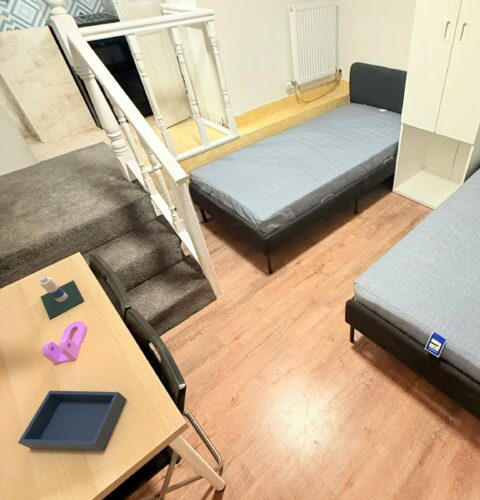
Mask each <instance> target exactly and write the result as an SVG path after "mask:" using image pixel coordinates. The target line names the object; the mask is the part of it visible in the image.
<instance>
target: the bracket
mask: <svg viewBox="0 0 480 500" xmlns="http://www.w3.org/2000/svg"><path fill="white" fill-rule="evenodd" d="M87 330H88V325H87V324H86V323H84V322H83V321H81V320H76V321H74V322H71V323H70V324H68V325H67V326H65V328H64V330H63V333H62V336H61V339H60V341H59V344H57V343H55V342H54V341H50V342H46V343H44V344H43V345H42V348H41V353H42V355H43V357H45V358H46V359H47V360H48V361H50V362H51V363H52V364H54V365H58V364H63V363H67V362H72V361H77V359H78V356H79V354H80V350H81V346H82V343H84V342H85V341H84V340H85V337H86V333H87ZM74 332H75V336H74V339H72V338H73V335H74Z"/></svg>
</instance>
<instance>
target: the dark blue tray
mask: <svg viewBox="0 0 480 500" xmlns="http://www.w3.org/2000/svg"><path fill="white" fill-rule="evenodd" d="M126 402H127V398H126V397H125V396H124V395H123V394H122V393H120V391H94V390H92V391H90V390H89V391H88V390H87V391H86V390H48V392H47V394H46V395H45V397H44V399H43V400H42V402H41V404H40V405H39V407H38V409H37V410H36V412H35V413H34V415H33V417H32V419H31V420H30V422H29V423H28V425H27V426H26V428H25V430H24V432H23V434H21V436H20V438H19V440H18V442H17V444H19V445H22V446H23V447H26V448H27V449H30V450H52V451H53V450H55V451H56V450H57V451H88V452H89V451H91V452H92V451H93V452H105V451H106V448H107V447H108V444H109V442H110V439H111V437H112V434H113V432H114V430H115V428H116V426H117V423H118V421H119V419H120V416H121V414H122V411H123V409H124V407H125V405H126Z"/></svg>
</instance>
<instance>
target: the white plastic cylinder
mask: <svg viewBox="0 0 480 500" xmlns="http://www.w3.org/2000/svg"><path fill="white" fill-rule="evenodd" d="M38 283H39V285H40V286H41V287H42V288H43V289H44V290H45V291H46V292H47V293H49V294H50V295H51V296H52V297H53V298H54V299H55V300H56V301H57V302H63V301H65V300H66V299H67V297H68V296H67V294H66V293H65V292H64V291H63V290H62V289H61V288H60V285H59V284H57V282H56V281H55V280H54V279H53V278H52V277H51V276H47V275H41V276H40V277H39V282H38Z"/></svg>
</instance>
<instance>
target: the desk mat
mask: <svg viewBox="0 0 480 500" xmlns="http://www.w3.org/2000/svg"><path fill="white" fill-rule="evenodd" d="M59 287H60V288H61V289H62V290H63V291H64V292H65V293H66V294H67V296H68V297H67V299H66V300H65V301H63V302H57V301H56V300H55V299H54V298H53V297H52V296H51V295H50V294H49V293H48V292H47V293H44V294H43V295H41V296H40V300H41V301H42V304H43V307H44V309H45V312H46V314H47V316H48V319H49V320H50V321H51V320H53V319H54V318H56V317H58V316H60V315H62V314H64V313H65V312H68V311H69V310H71V309H73V308H75V307H77V306H78V305H81V304H82V303H84V302H85V300H84V298H83V295H82V294H81V292H80V290H79V288H78V286H77V284H76V282H75V280H74V279H73V280H71V281H68V282H67V283H65V284H62V285H59Z"/></svg>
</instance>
